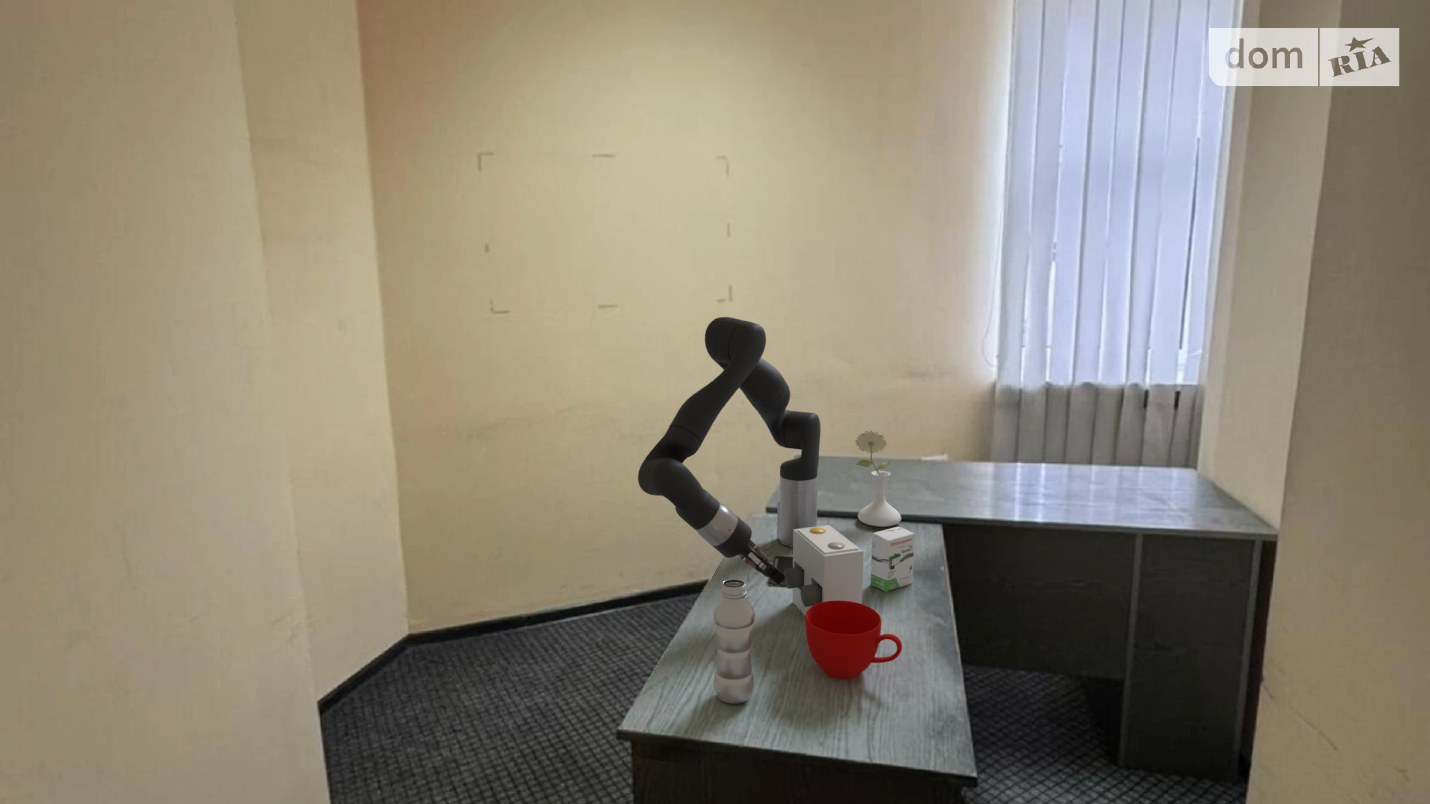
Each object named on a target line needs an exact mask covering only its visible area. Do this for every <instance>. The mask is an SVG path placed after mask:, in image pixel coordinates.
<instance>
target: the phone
mask: <svg viewBox="0 0 1430 804" xmlns="http://www.w3.org/2000/svg"><path fill="white" fill-rule="evenodd" d="M772 563H773V564H774V566H775V567H776V568H777V569H778V570H779V571H780V572H782V573H783V575H784V570H785V569H787V568H793V556H789V555H788V556H787V555H786V556H784V555H777V556H774V557H773V562H772ZM768 581H769V582H768V583H770V584H772V585H771V586H773V585H779V586H778V587H787V586H786V584H785V581H784V580H783V581H782V582H781V583H780V584H777V583H776V582H774V581H773V580H772V579H771V578H770V577H769V580H768ZM770 584H769V585H770Z"/></svg>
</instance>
